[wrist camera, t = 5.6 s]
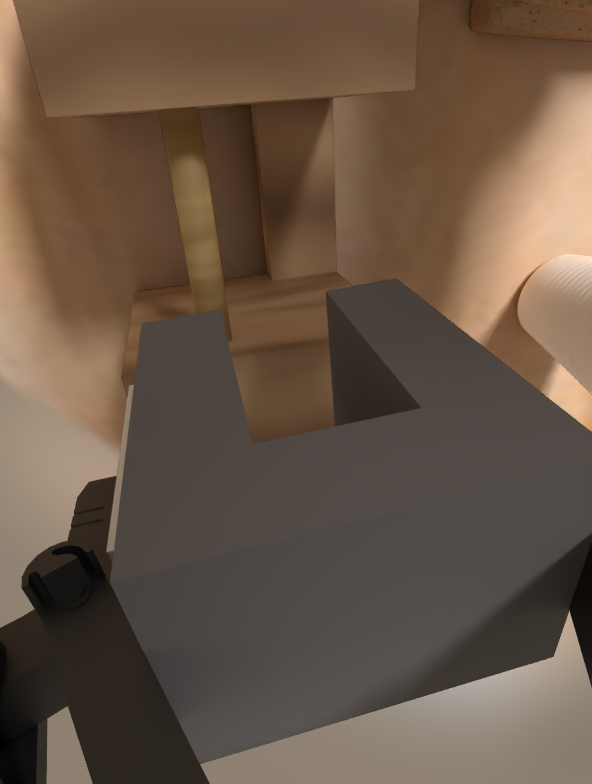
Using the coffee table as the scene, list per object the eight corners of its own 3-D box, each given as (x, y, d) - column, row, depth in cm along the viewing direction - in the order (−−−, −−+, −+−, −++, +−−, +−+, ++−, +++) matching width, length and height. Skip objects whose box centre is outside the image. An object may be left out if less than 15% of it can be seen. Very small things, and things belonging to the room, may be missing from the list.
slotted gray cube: (141, 323, 15) (110, 582, 7) (396, 278, 16) (622, 456, 8) (184, 472, 18) (197, 765, 10) (394, 426, 19) (553, 656, 11)
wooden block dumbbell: (40, -91, 20) (-65, -269, 11) (317, -93, 22) (431, -243, 13) (161, 400, 32) (161, 514, 23) (332, 369, 34) (396, 464, 25)
